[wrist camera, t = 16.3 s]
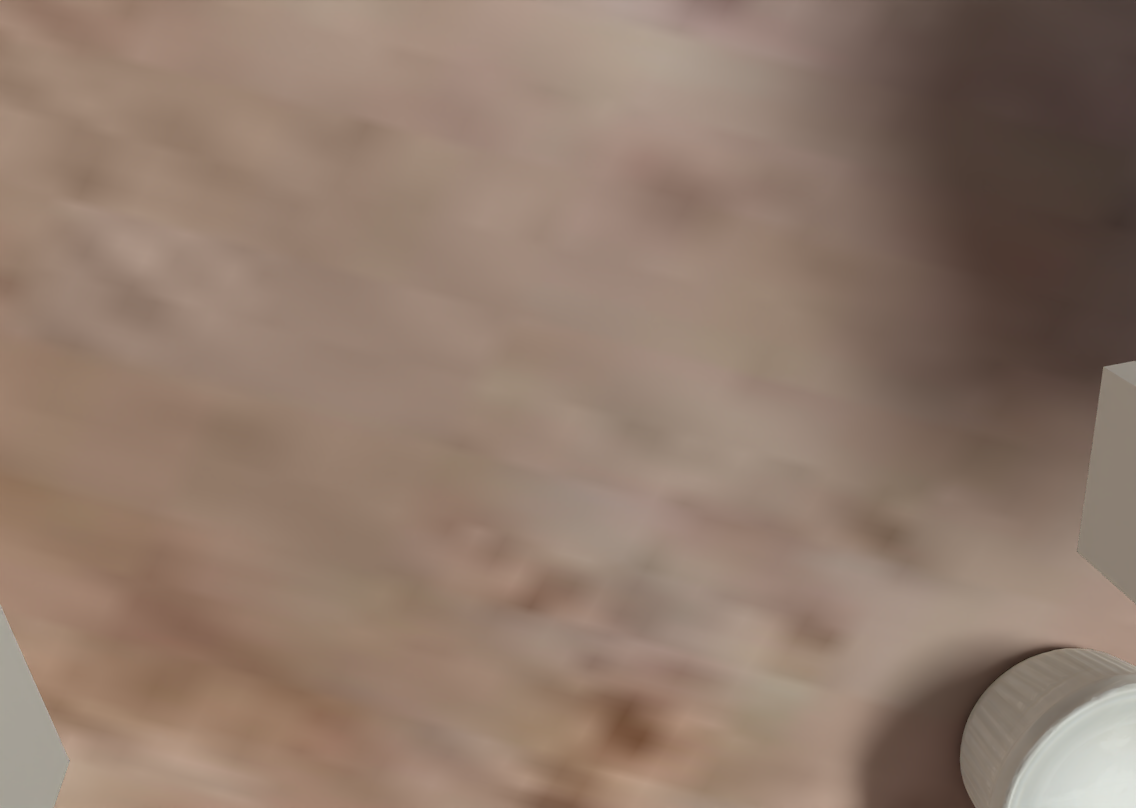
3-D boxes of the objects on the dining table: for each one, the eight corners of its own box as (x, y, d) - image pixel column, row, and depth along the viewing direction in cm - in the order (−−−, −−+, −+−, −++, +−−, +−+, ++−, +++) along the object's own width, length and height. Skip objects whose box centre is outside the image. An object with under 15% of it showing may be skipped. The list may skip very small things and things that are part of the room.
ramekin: (981, 867, 51) (1048, 949, 46) (901, 705, 47) (964, 776, 42) (1172, 753, 51) (1259, 822, 46) (1107, 583, 48) (1194, 639, 43)
